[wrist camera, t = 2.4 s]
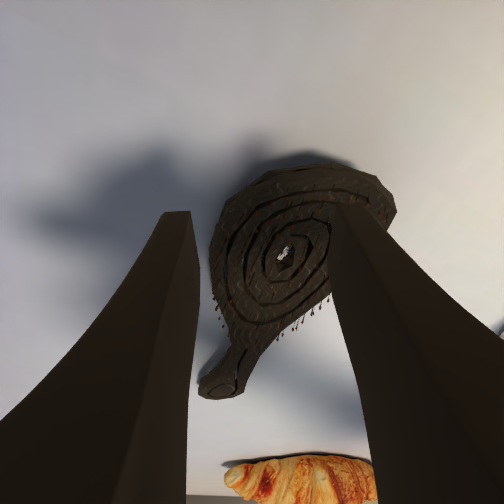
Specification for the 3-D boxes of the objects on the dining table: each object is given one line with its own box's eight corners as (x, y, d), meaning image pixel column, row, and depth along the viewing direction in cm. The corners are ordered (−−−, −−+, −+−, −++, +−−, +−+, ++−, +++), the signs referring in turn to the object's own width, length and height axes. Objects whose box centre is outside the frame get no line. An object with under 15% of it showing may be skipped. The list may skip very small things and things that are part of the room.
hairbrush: (159, 420, 32) (255, 170, 14) (164, 375, 34) (251, 113, 16) (260, 427, 34) (456, 216, 16) (257, 384, 36) (426, 159, 18)
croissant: (221, 441, 53) (216, 511, 50) (230, 457, 43) (224, 544, 41) (374, 447, 56) (376, 513, 53) (415, 463, 46) (419, 544, 44)
